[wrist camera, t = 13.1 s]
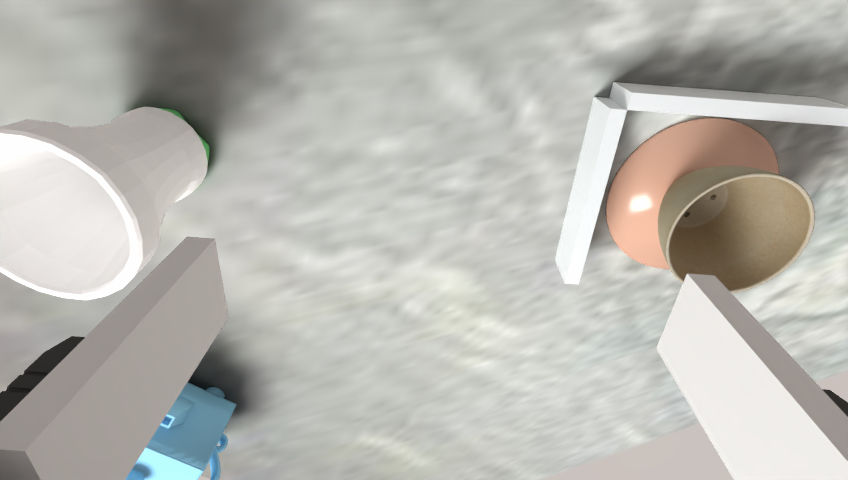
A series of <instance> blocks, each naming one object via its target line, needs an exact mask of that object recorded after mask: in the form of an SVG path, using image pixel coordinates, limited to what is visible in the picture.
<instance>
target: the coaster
mask: <svg viewBox="0 0 848 480" xmlns="http://www.w3.org/2000/svg"><path fill="white" fill-rule="evenodd" d="M716 166H743V167H751V168H756V169H761V170H766V171H769V172H773V173H776V174H779V167H778V162H777V158H776V156H775V153H774V151H773V149H772V147H771V146H770V144H769V143H768V141H767V140H766V139H765V138H764V137H763V136H762V135H761V134H760V133H758V132H757V131H756V130H754V129H753V128H751V127H749V126H747V125H744V124H742V123H740V122H737V121H733V120H730V119H723V118H701V119H694V120H690V121H685V122H682V123H679V124H676V125H674V126H671V127H669V128H667V129H665V130H663V131H661V132H659V133H657V134H656V135H654V136H652V137H651V138H649V139H648V140H647V141H645V142H644V143H643V144H641V145H640V146H639V147H638V148H637V149H636V150H635V151H634V152H633V153H632V154H631V155H630V156H629V157H628V158H627V159H626V161H625V162H624V163H623V164H622V166H621V167H620V169H619V170H618V172H617V173H616V175H615V177H614V179H613V181H612V184H611V186H610V189H609V192H608V197H607V201H606V221H607V225H608V229H609V231H610V233H611V236H612V238H613V239H614V241H615V242H616V244H617V245H618V246H619V248H620V249H621V250H622V251H623V252H624V253H625V254H627V255H628V256H629V257H630V258H632V259H634V260H636V261H637V262H640V263H642V264H645V265H648V266H651V267H655V268H663V269H670V268H669V266H668V264H667V262H666V260H665V257H664V255H663V252H662V249H661V245H660V241H659V235H658V215H659V209H660V205H661V202H662V199H663V197H664V195H665V193H666V192H667V190H668V189H669V187H670V186H671V185H672V184H673V183H674V182H675V181H676V180H678V179H679V178H681V177H682V176H684V175H686V174H688V173H691V172H693V171H696V170H699V169H704V168H708V167H716ZM712 196H714V195H712ZM688 215H689V213H688V214H687V216H688Z"/></svg>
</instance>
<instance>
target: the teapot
mask: <svg viewBox="0 0 848 480" xmlns="http://www.w3.org/2000/svg"><path fill="white" fill-rule="evenodd" d="M224 397H225V394H224V392H223V391H222V390H220V389H219V388H216V387H209V388H207V389H206V390H204V389H202V388H200V387H197V386H195V385H193V384H191V383H189V382H187V384H186V385H185V387H184V388H183V390H182V391H181V393H180V395H179V396H178V398H177V399H176V401H175V402H174V404H173V405H172V407H171V409H170V410H169V412H168V413H167V415H166V416H165V418H164V420H163V421H162V423H161V424H160V426H159V427H158V429H157V431H156V432H155V434H154V435H153V437H152V438H151V440H150V441H149V443H148V445H147V446H146V448H145V449H144V451H143V452H142V454H141V456H140V457H139V459H138V460H137V462H136V463H135V465H134V466H133V468H132V470H131V471H130V473H129V474H128V476H127V477H126V479H125V480H198V478H199V477H200V476H201V474H202V473H203V472H204V470H205V468H206V466H207V464H208V462H210V467H211V480H219V478H220V471H221V469H220V462H219V457H218V453H219V452H221V451H223V450H224V449H225V448H226V446H227V444H228V439H227V436H226V435H225V434H223V431H224V429H225V427H226V425H227V423H228V421H229V419H230V417H231V415H232V413H233V411H234V409H235V407H236V405H237V404H235V403H233V402H231V401H228V400H226V399H224ZM218 442H219V443H220V445H221V446H217V444H218Z"/></svg>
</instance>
